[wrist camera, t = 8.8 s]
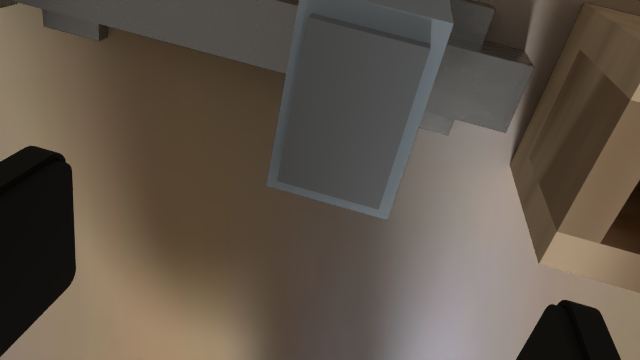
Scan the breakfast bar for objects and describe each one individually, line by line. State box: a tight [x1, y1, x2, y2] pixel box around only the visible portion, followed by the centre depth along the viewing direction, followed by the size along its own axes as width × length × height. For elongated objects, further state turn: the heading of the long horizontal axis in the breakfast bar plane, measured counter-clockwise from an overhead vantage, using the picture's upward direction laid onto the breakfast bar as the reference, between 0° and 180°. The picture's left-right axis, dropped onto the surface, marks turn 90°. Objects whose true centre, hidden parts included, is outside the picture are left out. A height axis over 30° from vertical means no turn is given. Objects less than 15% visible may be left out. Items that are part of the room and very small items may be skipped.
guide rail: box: [0, 0, 534, 135], centre depth 23 cm, size 27×6×3 cm, turn 79°
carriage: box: [266, 0, 454, 220], centre depth 19 cm, size 4×7×8 cm, turn 169°
